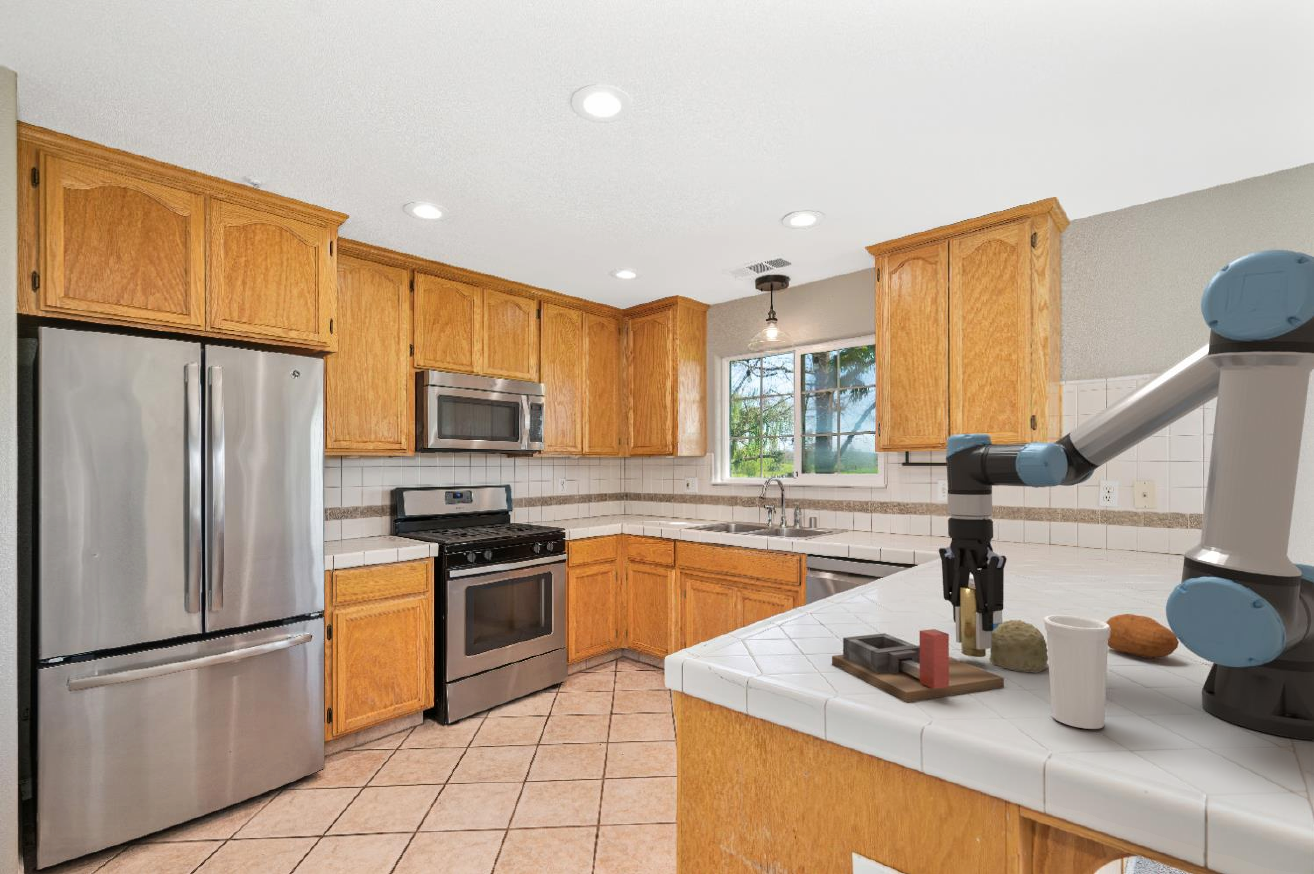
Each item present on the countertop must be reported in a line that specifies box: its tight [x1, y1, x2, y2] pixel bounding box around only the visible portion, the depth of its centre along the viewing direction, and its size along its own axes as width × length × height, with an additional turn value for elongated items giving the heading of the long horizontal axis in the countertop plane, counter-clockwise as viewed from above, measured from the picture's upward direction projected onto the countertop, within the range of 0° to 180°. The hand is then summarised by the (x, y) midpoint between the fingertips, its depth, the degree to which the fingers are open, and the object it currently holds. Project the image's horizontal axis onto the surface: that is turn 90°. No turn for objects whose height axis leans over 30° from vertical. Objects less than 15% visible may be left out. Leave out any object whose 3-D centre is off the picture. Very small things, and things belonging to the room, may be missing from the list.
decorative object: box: [989, 619, 1049, 673], centre depth 117 cm, size 9×10×10 cm
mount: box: [831, 632, 1005, 703], centre depth 110 cm, size 19×20×5 cm
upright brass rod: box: [960, 586, 987, 658], centre depth 117 cm, size 4×4×12 cm
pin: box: [899, 628, 950, 689], centre depth 104 cm, size 10×3×8 cm, turn 20°
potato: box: [1105, 613, 1180, 659], centre depth 122 cm, size 9×11×8 cm
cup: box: [1043, 614, 1111, 730], centre depth 91 cm, size 8×8×14 cm
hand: (973, 644), depth 117 cm, fingers closed on upright brass rod, 4 cm apart
